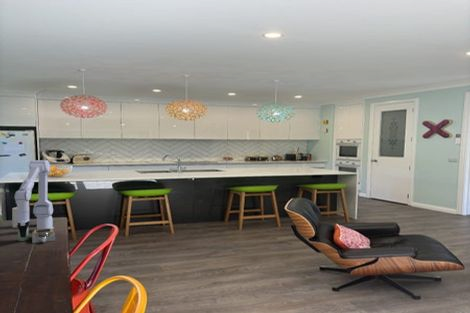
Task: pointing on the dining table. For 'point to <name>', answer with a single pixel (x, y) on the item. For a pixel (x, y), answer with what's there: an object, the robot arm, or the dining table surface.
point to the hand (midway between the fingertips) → (23, 236)
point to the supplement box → (14, 217)
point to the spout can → (23, 237)
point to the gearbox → (43, 235)
